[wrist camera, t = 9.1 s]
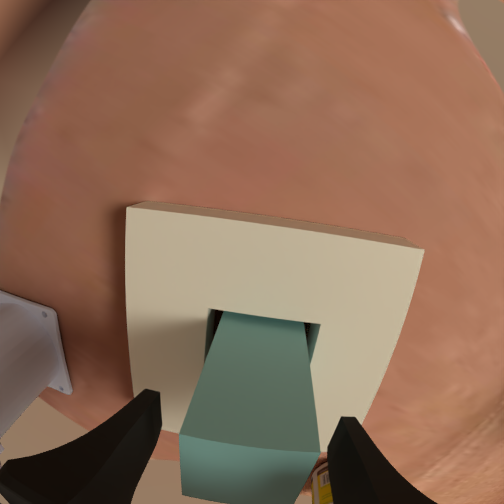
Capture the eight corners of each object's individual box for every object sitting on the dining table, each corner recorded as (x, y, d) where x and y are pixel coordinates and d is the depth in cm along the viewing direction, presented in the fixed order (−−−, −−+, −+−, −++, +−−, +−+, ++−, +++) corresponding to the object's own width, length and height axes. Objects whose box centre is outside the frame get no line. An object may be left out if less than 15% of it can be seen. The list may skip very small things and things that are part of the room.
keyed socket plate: (149, 400, 20) (137, 422, 17) (147, 200, 16) (126, 206, 14) (342, 427, 19) (346, 452, 17) (405, 238, 15) (424, 250, 13)
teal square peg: (222, 355, 18) (182, 494, 8) (229, 296, 17) (179, 434, 7) (288, 365, 18) (290, 509, 8) (301, 306, 17) (320, 452, 7)
